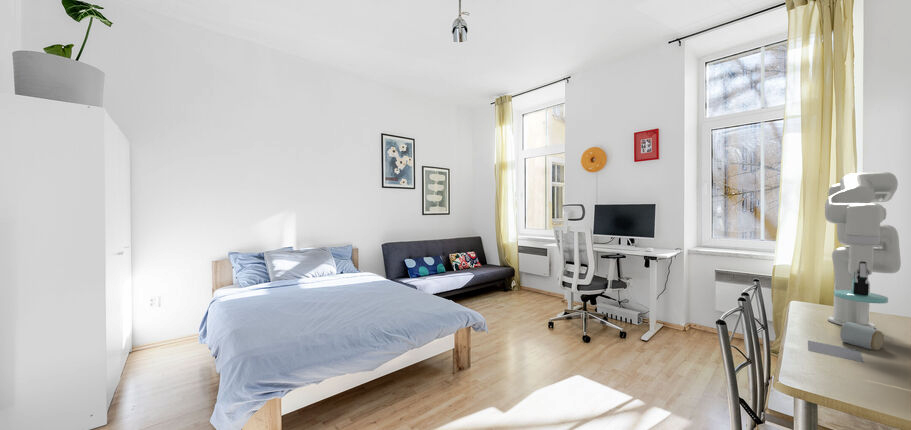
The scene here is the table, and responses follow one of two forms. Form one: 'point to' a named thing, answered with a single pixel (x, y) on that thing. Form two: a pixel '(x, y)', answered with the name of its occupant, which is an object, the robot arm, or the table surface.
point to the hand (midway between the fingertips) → (860, 292)
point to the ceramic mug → (861, 336)
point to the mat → (835, 351)
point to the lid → (860, 296)
